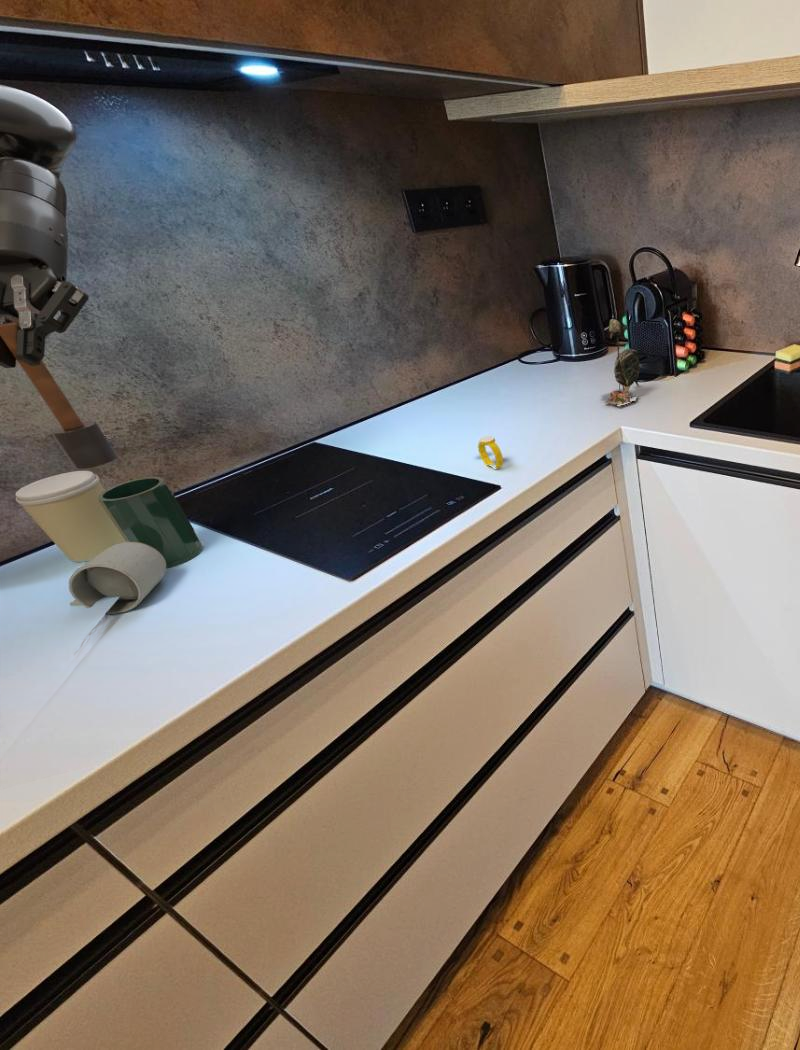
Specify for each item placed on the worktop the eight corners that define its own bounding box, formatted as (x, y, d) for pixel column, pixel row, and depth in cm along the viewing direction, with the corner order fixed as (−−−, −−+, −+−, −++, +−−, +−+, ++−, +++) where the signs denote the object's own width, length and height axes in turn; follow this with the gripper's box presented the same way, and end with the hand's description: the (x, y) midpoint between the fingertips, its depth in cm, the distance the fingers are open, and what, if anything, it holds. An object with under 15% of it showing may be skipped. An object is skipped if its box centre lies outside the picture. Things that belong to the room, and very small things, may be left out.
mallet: (67, 471, 76) (-31, 330, 67) (85, 458, 80) (-5, 322, 70) (107, 465, 77) (16, 325, 68) (123, 452, 81) (39, 318, 71)
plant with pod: (653, 397, 144) (644, 313, 133) (616, 410, 137) (604, 322, 127) (633, 391, 149) (623, 309, 138) (596, 403, 142) (583, 318, 132)
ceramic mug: (180, 574, 87) (151, 530, 83) (153, 606, 80) (120, 560, 76) (98, 590, 85) (64, 546, 81) (62, 625, 78) (23, 579, 74)
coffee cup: (136, 527, 101) (95, 464, 94) (139, 547, 94) (95, 481, 88) (64, 550, 95) (15, 484, 89) (61, 572, 89) (9, 504, 83)
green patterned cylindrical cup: (134, 575, 88) (86, 505, 81) (156, 549, 94) (113, 482, 88) (193, 563, 89) (150, 494, 83) (211, 538, 96) (172, 473, 89)
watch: (479, 466, 114) (471, 437, 111) (491, 461, 116) (483, 433, 113) (496, 473, 111) (489, 444, 108) (509, 468, 113) (501, 439, 110)
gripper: (-77, 223, 69) (-91, 353, 65) (59, 213, 71) (53, 338, 67) (-10, 266, 76) (-19, 386, 72) (111, 256, 78) (108, 371, 74)
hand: (15, 362), depth 70 cm, fingers closed on mallet, 2 cm apart
